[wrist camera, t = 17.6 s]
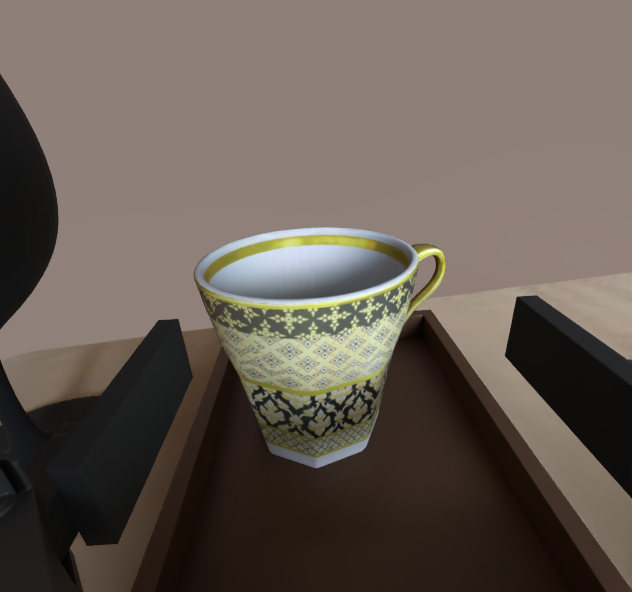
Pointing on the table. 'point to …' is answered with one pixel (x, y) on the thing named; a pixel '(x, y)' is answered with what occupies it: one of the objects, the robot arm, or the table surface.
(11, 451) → the wine glass
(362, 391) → the ceramic cup
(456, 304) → the table surface
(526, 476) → the tray
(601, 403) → the robot arm
